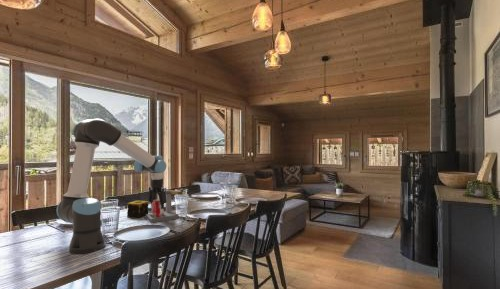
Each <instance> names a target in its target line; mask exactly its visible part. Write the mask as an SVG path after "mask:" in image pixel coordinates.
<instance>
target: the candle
mask: <svg viewBox="0 0 500 289" xmlns="http://www.w3.org/2000/svg"><path fill="white" fill-rule="evenodd" d="M126 205H127V212H126V214H127V215H126V218H127V219H129V218H130V219H141V218H144V217H145V214H149V200H134V201H131V202H127V204H126Z"/></svg>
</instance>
